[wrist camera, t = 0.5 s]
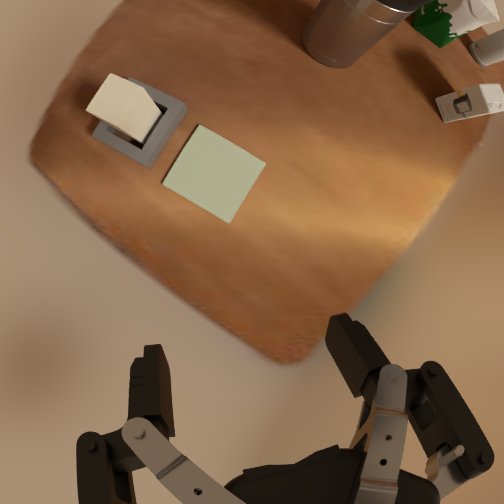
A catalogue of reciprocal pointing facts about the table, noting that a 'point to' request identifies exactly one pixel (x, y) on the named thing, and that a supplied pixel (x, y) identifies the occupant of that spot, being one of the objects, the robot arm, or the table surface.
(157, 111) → the cream carton
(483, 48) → the travel mug
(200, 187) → the mat
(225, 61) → the table surface
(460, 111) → the ink box
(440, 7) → the milk carton
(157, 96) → the grey square frame
